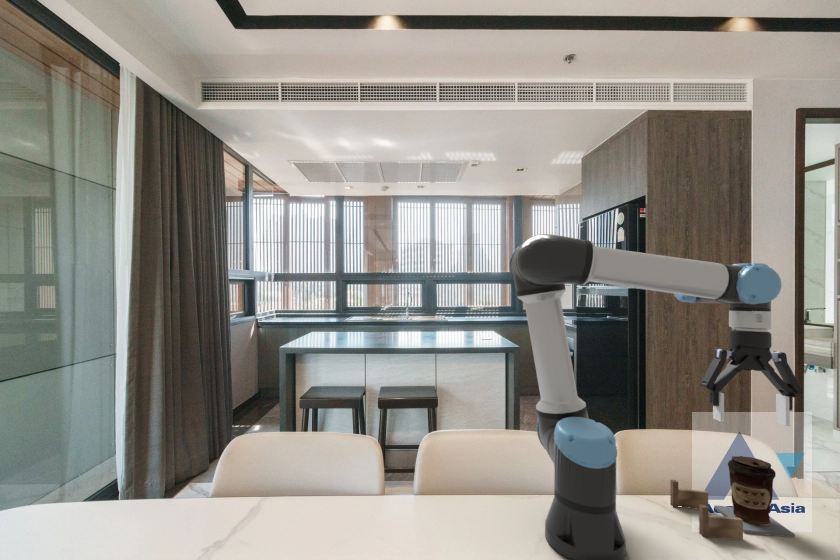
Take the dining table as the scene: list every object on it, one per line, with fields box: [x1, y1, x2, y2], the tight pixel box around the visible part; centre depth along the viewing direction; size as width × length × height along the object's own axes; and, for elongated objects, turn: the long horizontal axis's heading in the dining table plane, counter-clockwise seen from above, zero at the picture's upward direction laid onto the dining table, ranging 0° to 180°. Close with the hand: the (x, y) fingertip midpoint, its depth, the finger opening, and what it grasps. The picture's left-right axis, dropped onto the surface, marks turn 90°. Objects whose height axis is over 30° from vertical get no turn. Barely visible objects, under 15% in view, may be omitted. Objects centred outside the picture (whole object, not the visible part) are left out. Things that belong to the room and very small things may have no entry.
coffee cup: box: [727, 455, 777, 526], centre depth 88 cm, size 9×8×13 cm
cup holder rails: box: [669, 479, 744, 540], centre depth 88 cm, size 8×13×6 cm, turn 173°
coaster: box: [713, 504, 796, 538], centre depth 88 cm, size 10×10×1 cm
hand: (750, 422), depth 89 cm, fingers open, 13 cm apart
